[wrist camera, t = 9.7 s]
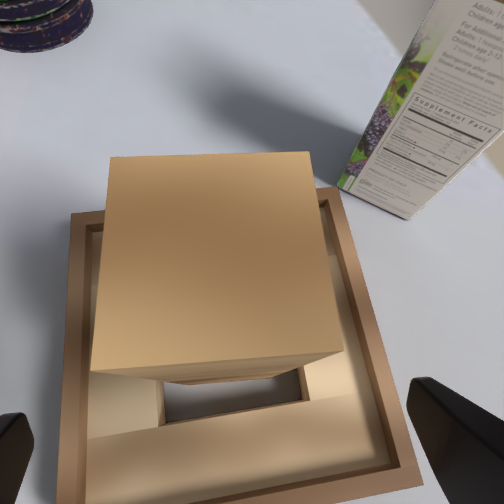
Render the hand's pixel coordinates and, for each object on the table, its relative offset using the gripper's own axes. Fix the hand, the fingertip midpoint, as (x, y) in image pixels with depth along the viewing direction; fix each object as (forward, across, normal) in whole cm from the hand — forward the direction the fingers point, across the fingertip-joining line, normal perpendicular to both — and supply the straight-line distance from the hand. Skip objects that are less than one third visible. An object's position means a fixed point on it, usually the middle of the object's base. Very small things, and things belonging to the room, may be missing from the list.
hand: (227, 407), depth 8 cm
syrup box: (+18, -12, -2) cm, 22 cm away
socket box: (+10, 0, +6) cm, 12 cm away
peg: (+10, 0, +6) cm, 12 cm away
